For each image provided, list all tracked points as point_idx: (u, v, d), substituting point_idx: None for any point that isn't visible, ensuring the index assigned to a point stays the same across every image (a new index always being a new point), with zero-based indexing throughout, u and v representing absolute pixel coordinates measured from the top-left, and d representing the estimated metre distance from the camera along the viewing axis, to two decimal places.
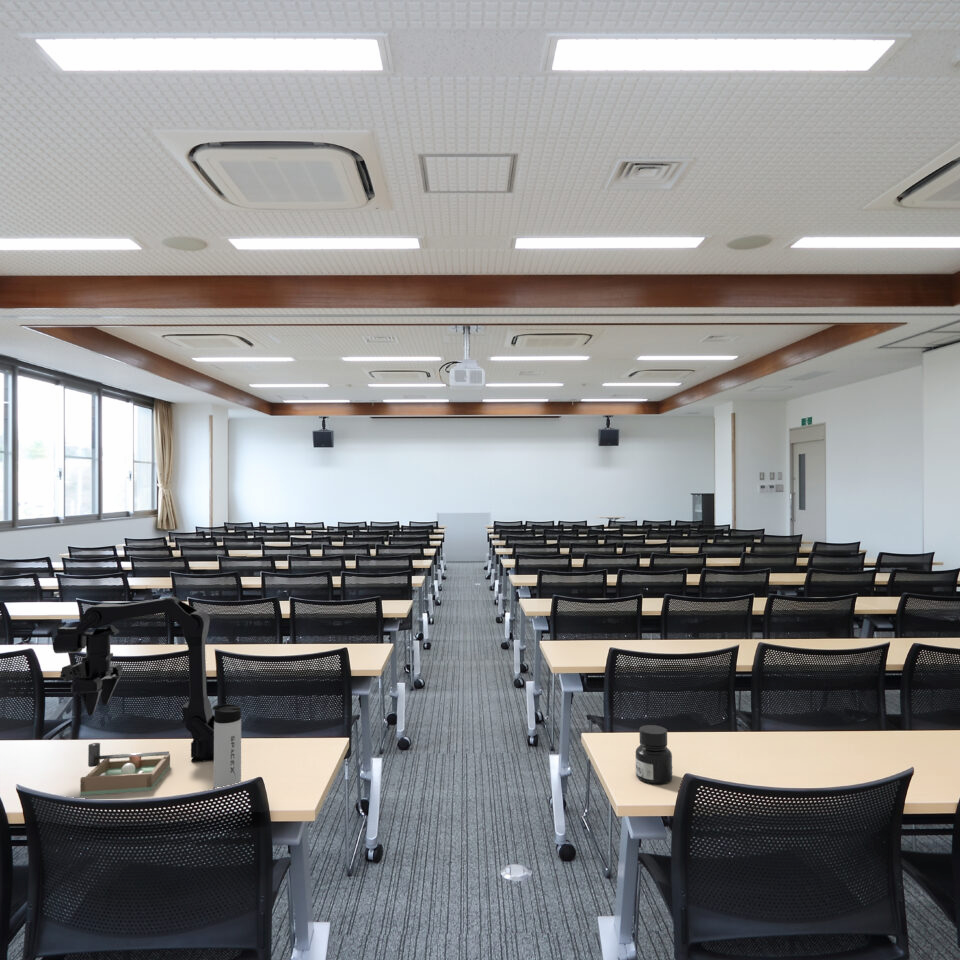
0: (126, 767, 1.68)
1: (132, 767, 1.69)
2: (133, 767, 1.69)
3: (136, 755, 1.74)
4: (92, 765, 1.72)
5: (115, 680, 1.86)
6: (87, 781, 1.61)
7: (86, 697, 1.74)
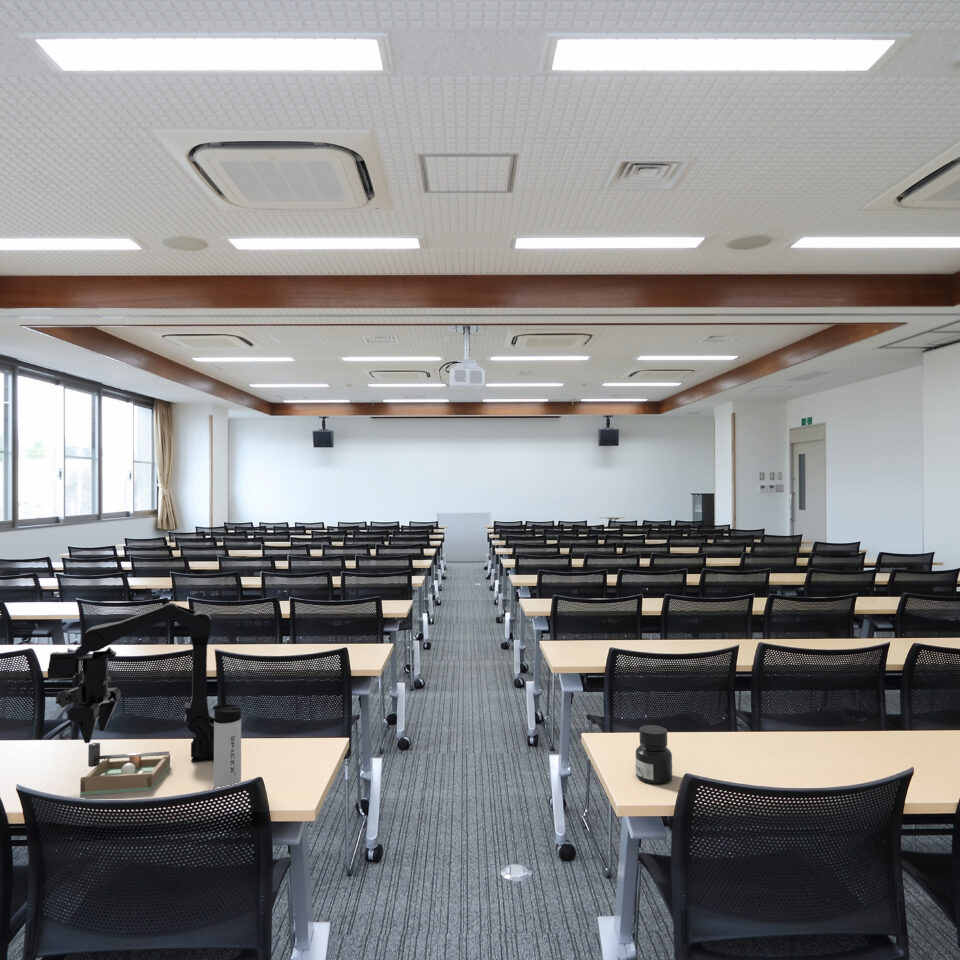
0: (126, 767, 1.68)
1: (132, 767, 1.69)
2: (133, 767, 1.69)
3: (136, 755, 1.74)
4: (92, 765, 1.72)
5: (113, 705, 1.79)
6: (87, 781, 1.61)
7: (82, 724, 1.68)
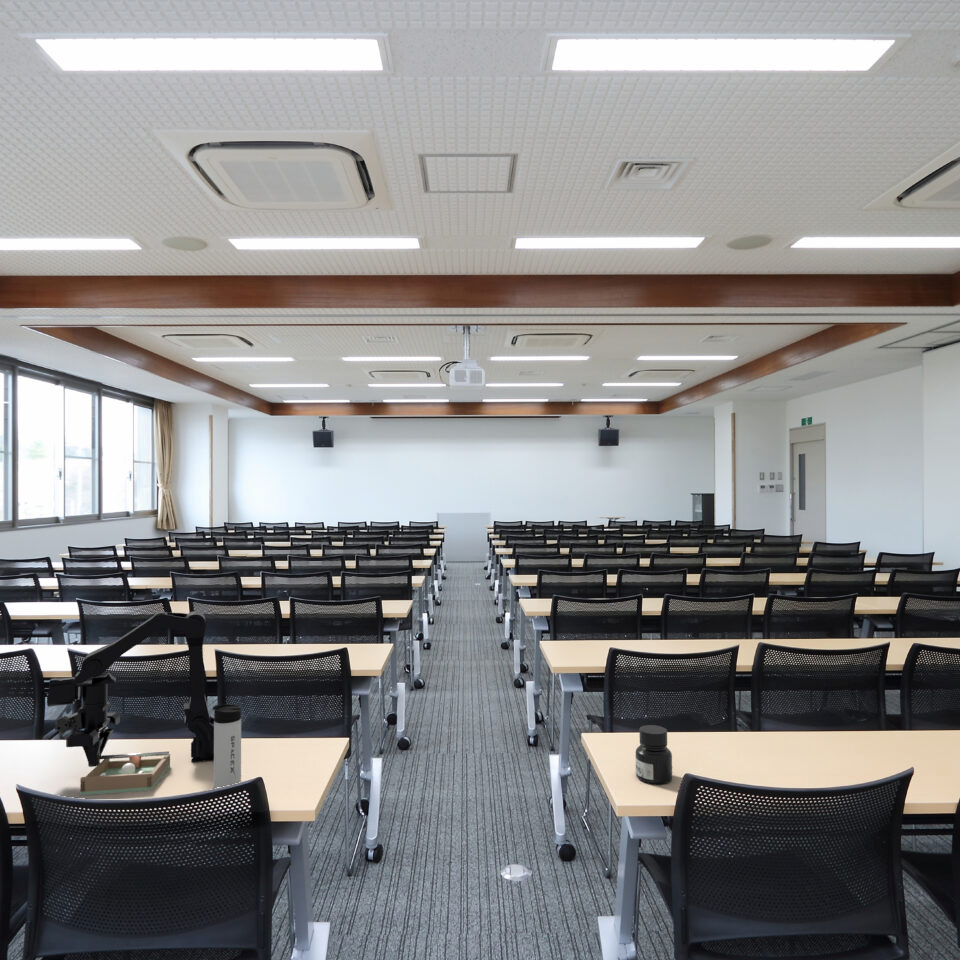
0: (126, 767, 1.68)
1: (132, 767, 1.69)
2: (133, 767, 1.69)
3: (136, 755, 1.74)
4: (92, 765, 1.72)
5: (108, 734, 1.76)
6: (87, 781, 1.61)
7: (87, 746, 1.70)
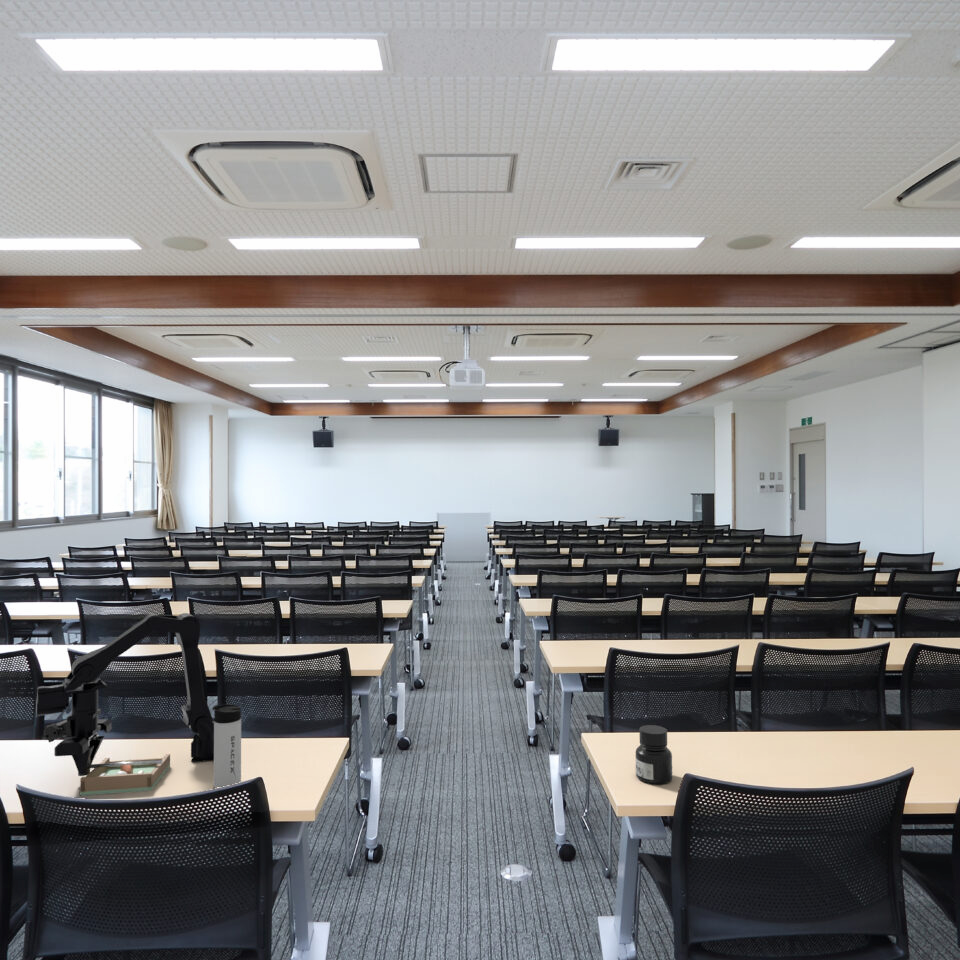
0: None
1: None
2: None
3: (128, 764, 1.68)
4: (82, 774, 1.66)
5: (98, 741, 1.70)
6: (87, 781, 1.61)
7: (77, 755, 1.65)
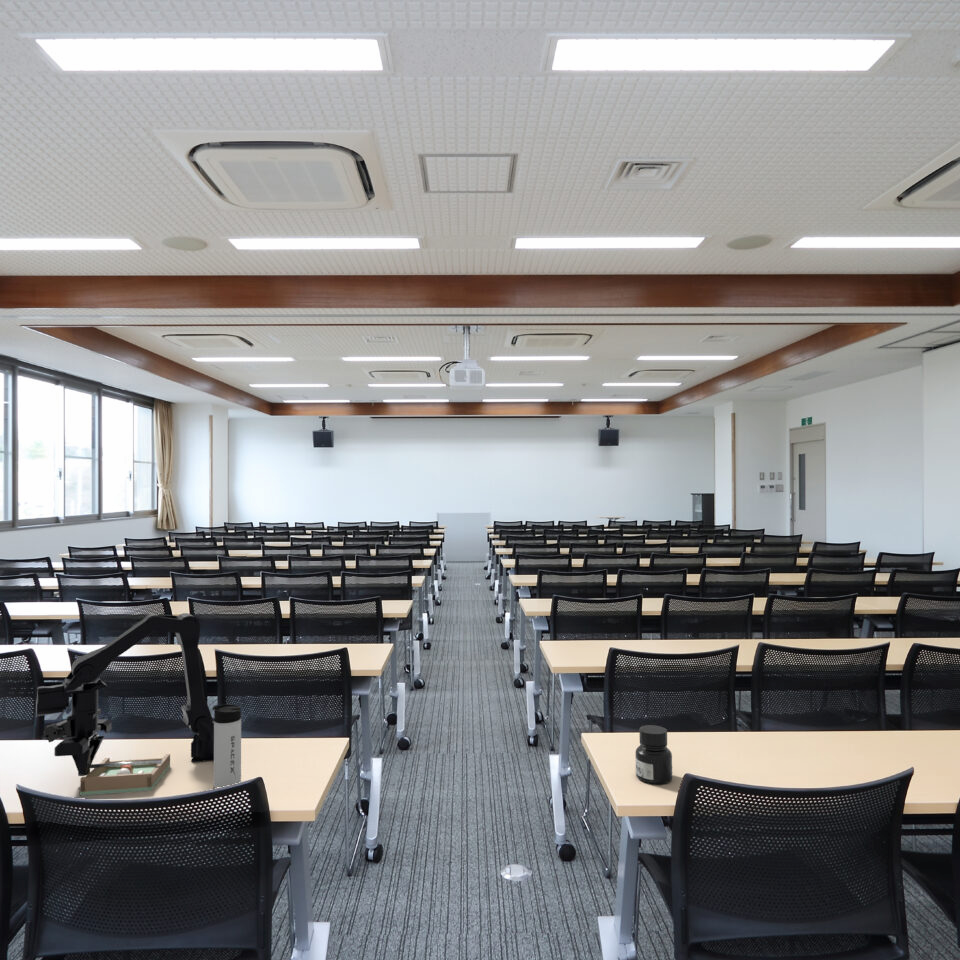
0: None
1: None
2: None
3: (128, 764, 1.68)
4: (82, 774, 1.66)
5: (98, 741, 1.70)
6: (87, 781, 1.61)
7: (77, 755, 1.65)
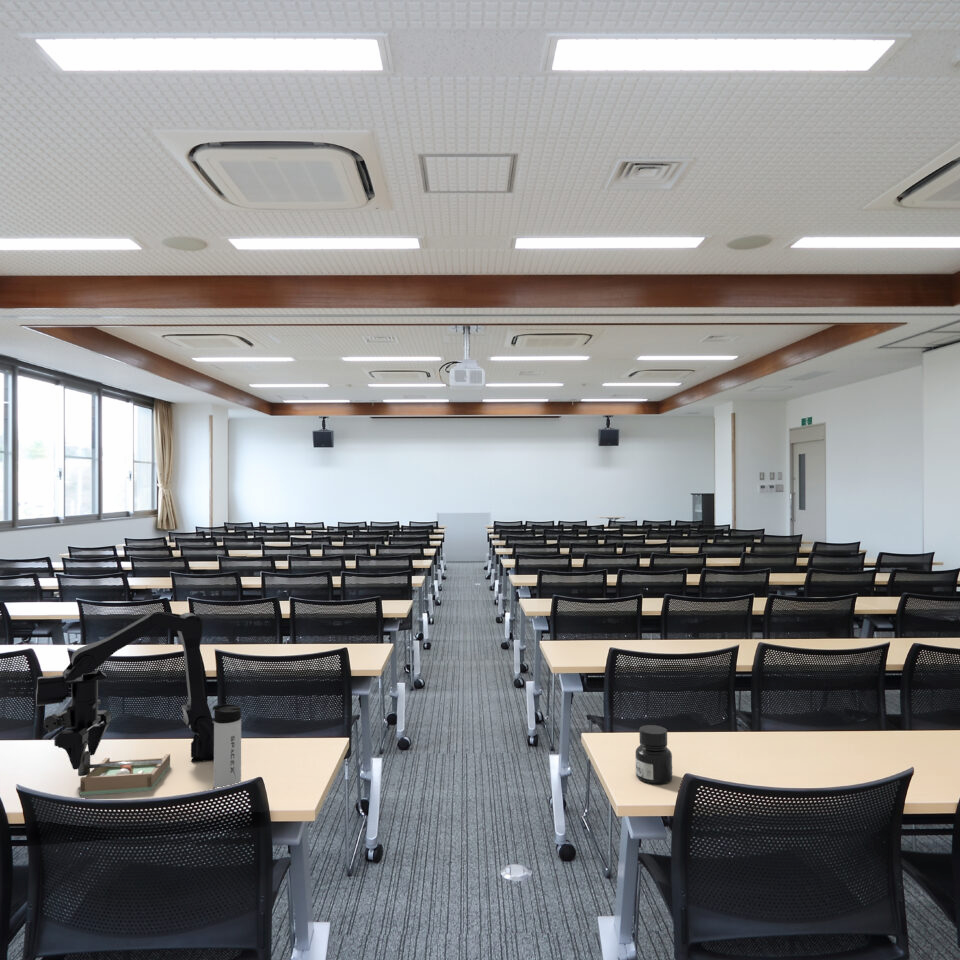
0: None
1: None
2: None
3: (128, 764, 1.68)
4: (82, 774, 1.66)
5: (103, 728, 1.73)
6: (87, 781, 1.61)
7: (71, 750, 1.62)
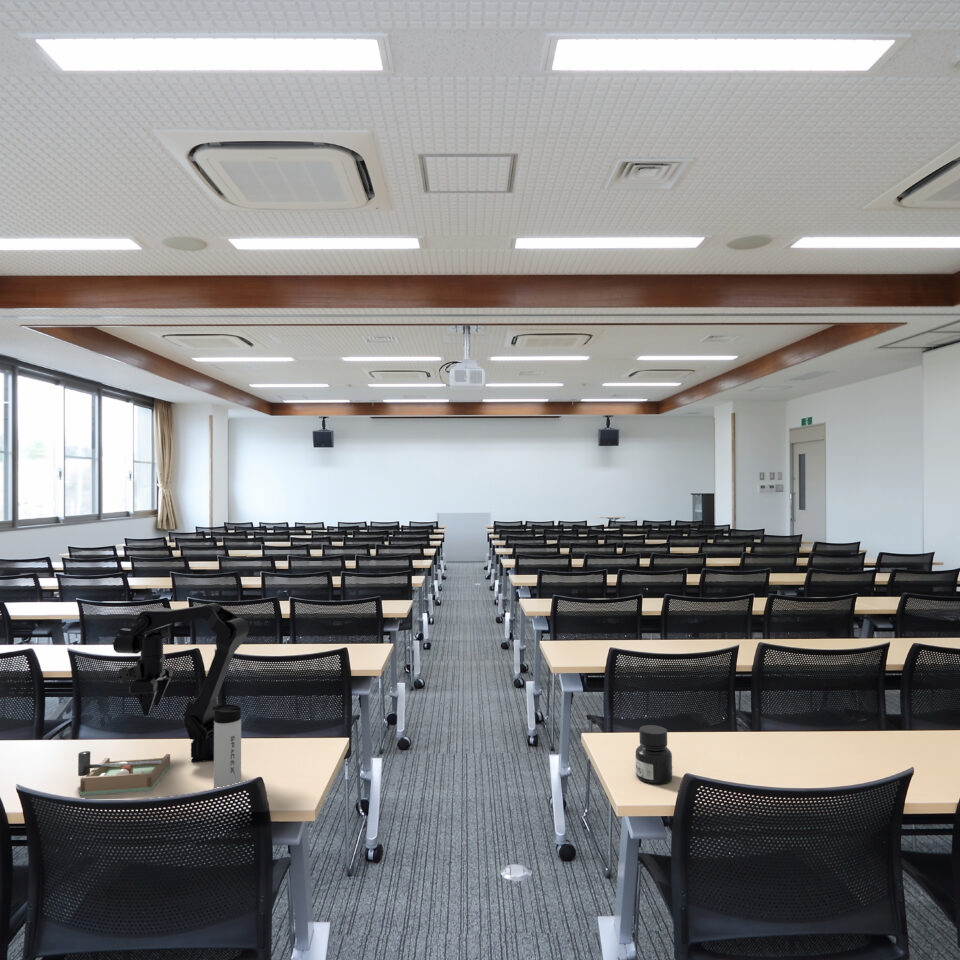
0: None
1: None
2: None
3: (128, 764, 1.68)
4: (82, 774, 1.66)
5: (166, 681, 1.93)
6: (87, 781, 1.61)
7: (142, 698, 1.82)
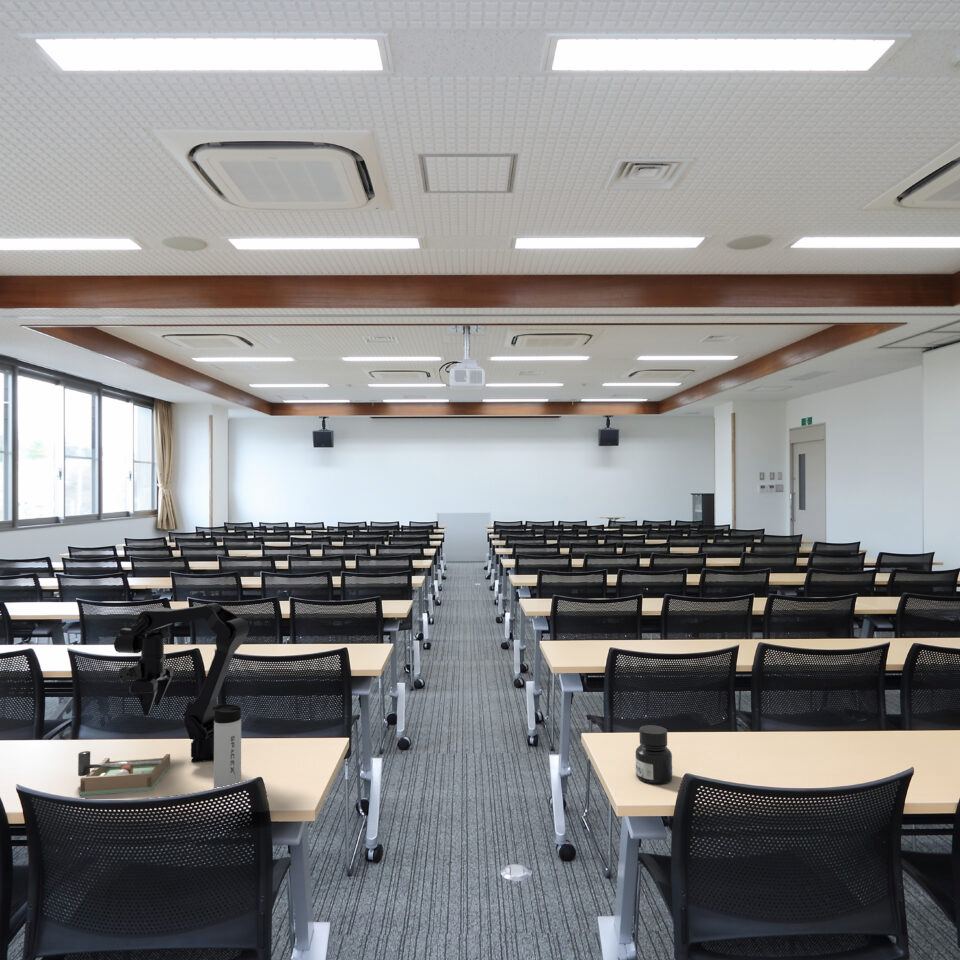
0: None
1: None
2: None
3: (128, 764, 1.68)
4: (82, 774, 1.66)
5: (167, 681, 1.93)
6: (87, 781, 1.61)
7: (142, 697, 1.82)
